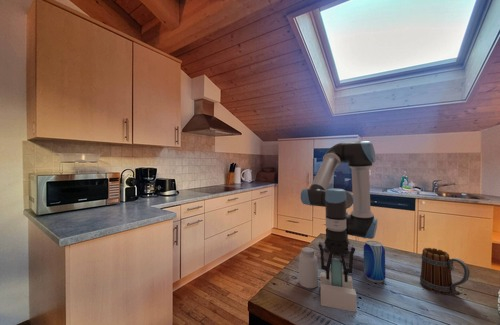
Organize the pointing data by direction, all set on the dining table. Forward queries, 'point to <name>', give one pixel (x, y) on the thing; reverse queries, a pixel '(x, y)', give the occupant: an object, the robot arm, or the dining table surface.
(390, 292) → the dining table surface
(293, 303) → the dining table surface
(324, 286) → the socket
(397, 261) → the dining table surface
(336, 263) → the peg
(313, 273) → the pill bottle
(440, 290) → the mug
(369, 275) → the beer can
